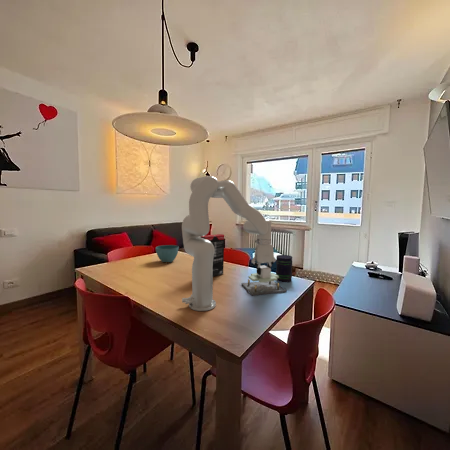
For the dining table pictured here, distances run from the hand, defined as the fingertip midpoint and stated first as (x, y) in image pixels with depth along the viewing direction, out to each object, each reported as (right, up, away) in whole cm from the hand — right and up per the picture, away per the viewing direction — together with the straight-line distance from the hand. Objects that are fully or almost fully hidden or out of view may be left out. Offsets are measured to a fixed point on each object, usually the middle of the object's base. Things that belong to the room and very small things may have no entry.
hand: (263, 273), depth 128 cm
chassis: (0, -9, +1) cm, 9 cm away
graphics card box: (-30, -7, +23) cm, 39 cm away
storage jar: (+15, -8, +16) cm, 23 cm away
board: (0, -3, 0) cm, 3 cm away
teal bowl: (-69, -3, +59) cm, 91 cm away
